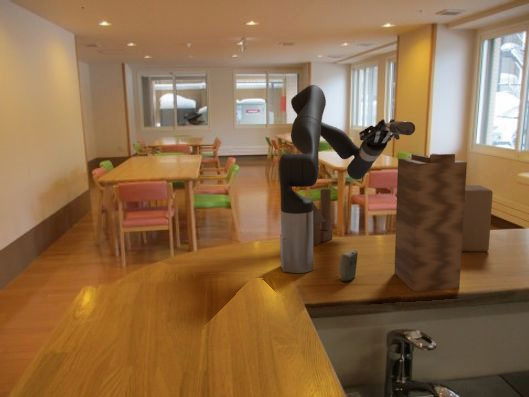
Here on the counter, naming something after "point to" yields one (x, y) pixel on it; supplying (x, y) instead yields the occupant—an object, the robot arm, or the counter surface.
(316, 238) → the wooden block
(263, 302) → the counter surface
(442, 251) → the brown tall block
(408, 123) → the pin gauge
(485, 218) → the wooden block
